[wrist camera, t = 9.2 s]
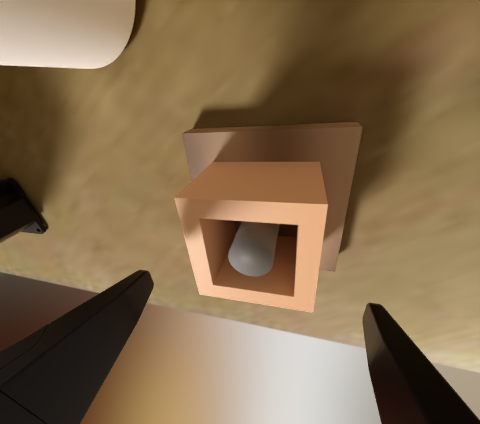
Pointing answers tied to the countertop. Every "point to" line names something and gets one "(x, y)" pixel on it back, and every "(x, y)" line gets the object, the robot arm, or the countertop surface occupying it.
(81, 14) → the beverage can
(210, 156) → the post stand
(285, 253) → the collar
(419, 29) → the countertop surface
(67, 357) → the robot arm
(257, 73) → the countertop surface
